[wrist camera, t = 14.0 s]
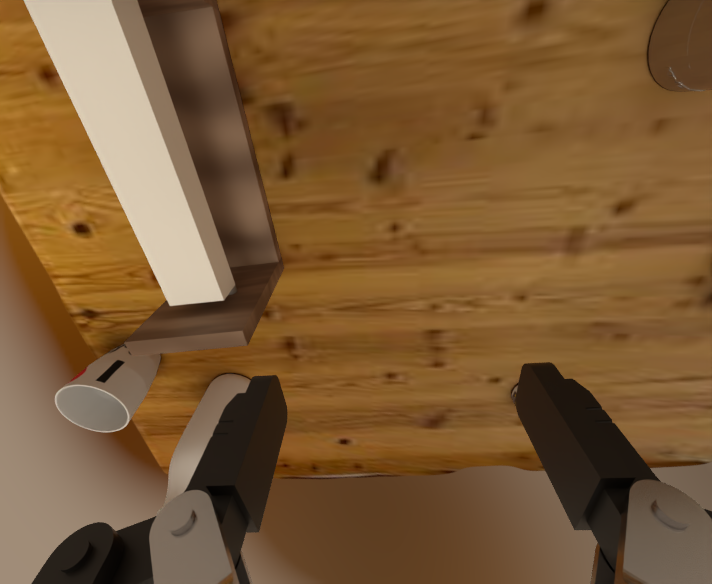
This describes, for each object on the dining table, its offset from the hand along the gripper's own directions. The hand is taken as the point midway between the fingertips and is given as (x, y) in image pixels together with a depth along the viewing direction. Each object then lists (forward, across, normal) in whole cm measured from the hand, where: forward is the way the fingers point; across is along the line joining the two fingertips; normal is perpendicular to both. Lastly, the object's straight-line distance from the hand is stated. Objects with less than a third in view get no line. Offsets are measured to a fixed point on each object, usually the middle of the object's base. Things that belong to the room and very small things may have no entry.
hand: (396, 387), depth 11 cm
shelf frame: (+28, +17, -5) cm, 33 cm away
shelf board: (+19, +17, -5) cm, 26 cm away
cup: (+27, +35, +20) cm, 48 cm away
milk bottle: (+27, +24, +28) cm, 46 cm away
